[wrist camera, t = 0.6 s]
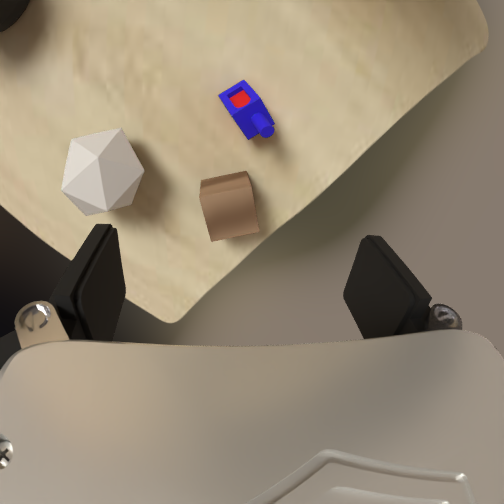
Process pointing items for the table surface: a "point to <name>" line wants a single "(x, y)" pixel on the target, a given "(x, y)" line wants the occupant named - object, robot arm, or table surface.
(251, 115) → the toy building block
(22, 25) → the table surface
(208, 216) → the walnut cube
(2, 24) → the pen holder
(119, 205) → the die
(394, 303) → the robot arm
